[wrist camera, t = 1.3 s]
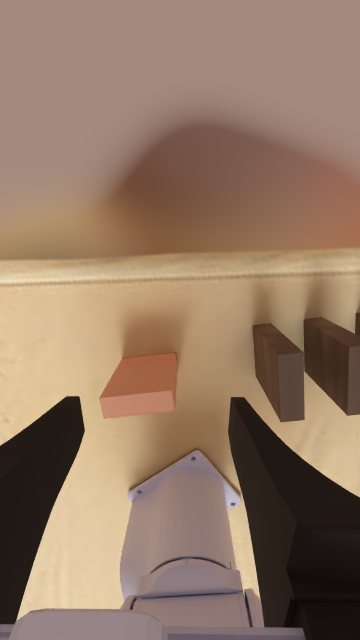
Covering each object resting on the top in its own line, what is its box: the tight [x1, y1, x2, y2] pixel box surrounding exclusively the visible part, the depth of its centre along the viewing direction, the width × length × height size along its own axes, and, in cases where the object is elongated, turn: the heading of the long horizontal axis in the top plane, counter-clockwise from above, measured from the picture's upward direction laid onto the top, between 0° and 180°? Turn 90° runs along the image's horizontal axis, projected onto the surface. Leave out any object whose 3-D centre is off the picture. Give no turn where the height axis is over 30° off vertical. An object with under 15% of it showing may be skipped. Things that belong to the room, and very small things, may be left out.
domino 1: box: [253, 323, 304, 422], centre depth 22 cm, size 2×5×7 cm, turn 7°
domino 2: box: [304, 317, 360, 416], centre depth 21 cm, size 2×5×7 cm, turn 7°
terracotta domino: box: [99, 352, 178, 418], centre depth 22 cm, size 2×5×7 cm, turn 97°
